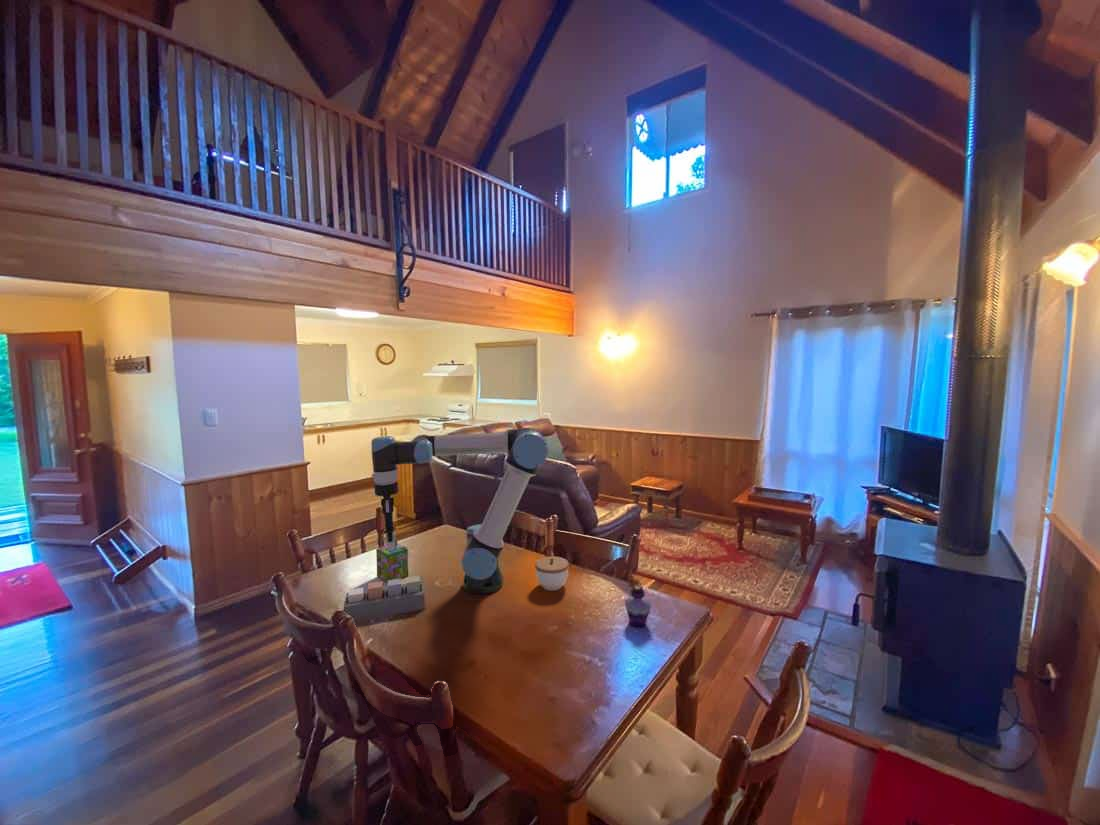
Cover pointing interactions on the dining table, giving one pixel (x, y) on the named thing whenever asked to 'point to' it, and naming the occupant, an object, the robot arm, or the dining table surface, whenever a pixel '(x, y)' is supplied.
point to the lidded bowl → (552, 572)
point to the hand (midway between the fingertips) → (391, 549)
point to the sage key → (413, 584)
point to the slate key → (394, 587)
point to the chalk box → (392, 562)
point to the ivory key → (356, 595)
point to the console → (385, 604)
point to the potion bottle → (637, 607)
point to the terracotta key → (375, 590)
